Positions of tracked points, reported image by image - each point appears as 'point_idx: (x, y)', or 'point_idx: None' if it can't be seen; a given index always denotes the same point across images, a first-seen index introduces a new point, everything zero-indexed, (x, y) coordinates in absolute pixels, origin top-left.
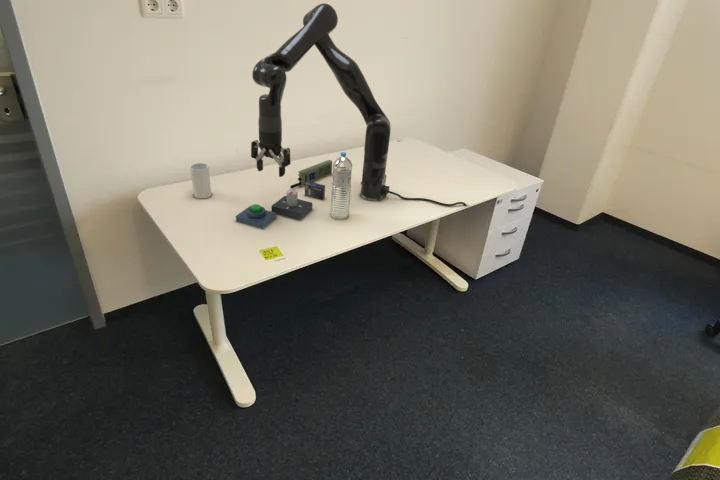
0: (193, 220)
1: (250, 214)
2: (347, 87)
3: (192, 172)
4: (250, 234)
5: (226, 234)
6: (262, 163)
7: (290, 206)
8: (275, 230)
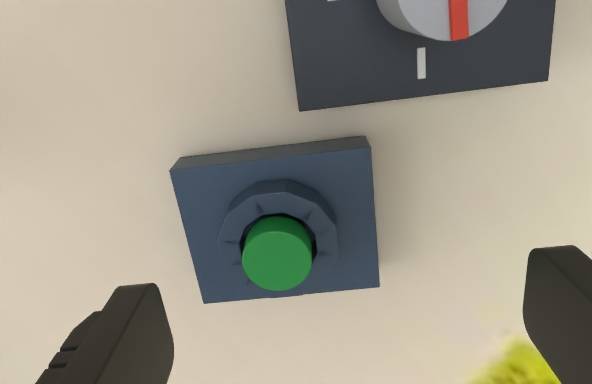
0: None
1: (284, 293)
2: None
3: None
4: (354, 329)
5: (265, 378)
6: (114, 371)
7: None
8: (440, 242)
